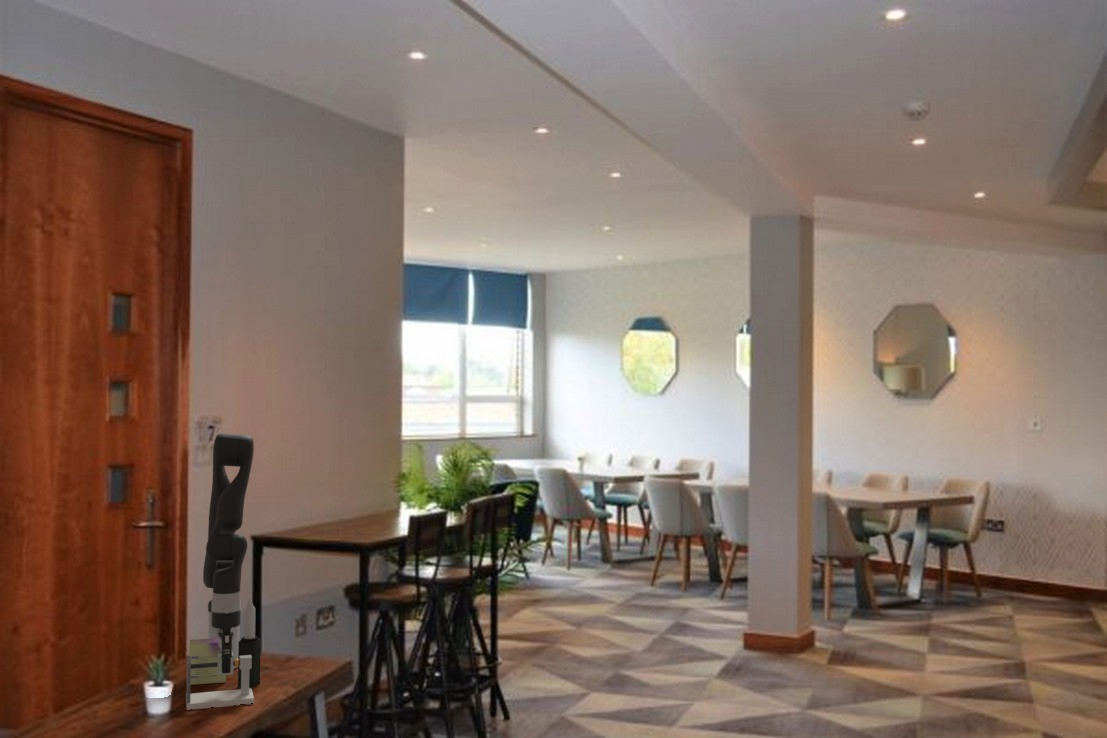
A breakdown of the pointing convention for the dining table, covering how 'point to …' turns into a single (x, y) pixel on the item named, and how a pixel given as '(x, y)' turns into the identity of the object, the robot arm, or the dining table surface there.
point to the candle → (250, 646)
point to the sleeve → (219, 668)
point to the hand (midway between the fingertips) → (225, 669)
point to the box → (204, 661)
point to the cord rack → (221, 697)
